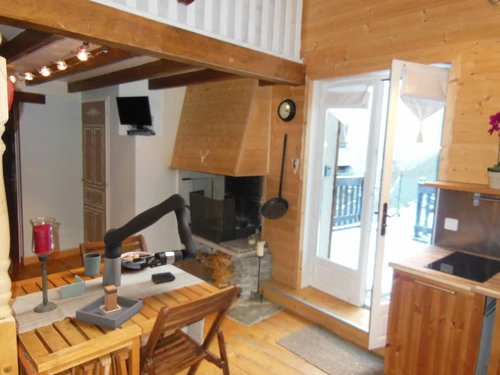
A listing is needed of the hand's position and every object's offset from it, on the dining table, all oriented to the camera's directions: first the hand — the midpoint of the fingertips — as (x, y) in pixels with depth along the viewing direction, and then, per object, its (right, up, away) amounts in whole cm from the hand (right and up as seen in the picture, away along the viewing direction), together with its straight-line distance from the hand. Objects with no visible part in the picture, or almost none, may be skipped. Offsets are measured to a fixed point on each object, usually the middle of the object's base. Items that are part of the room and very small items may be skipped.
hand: (136, 263), depth 192 cm
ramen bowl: (-17, -14, +53) cm, 58 cm away
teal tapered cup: (-40, -15, +39) cm, 58 cm away
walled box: (-10, -23, -11) cm, 27 cm away
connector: (-9, -22, -11) cm, 26 cm away
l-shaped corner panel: (-40, -19, +10) cm, 46 cm away
